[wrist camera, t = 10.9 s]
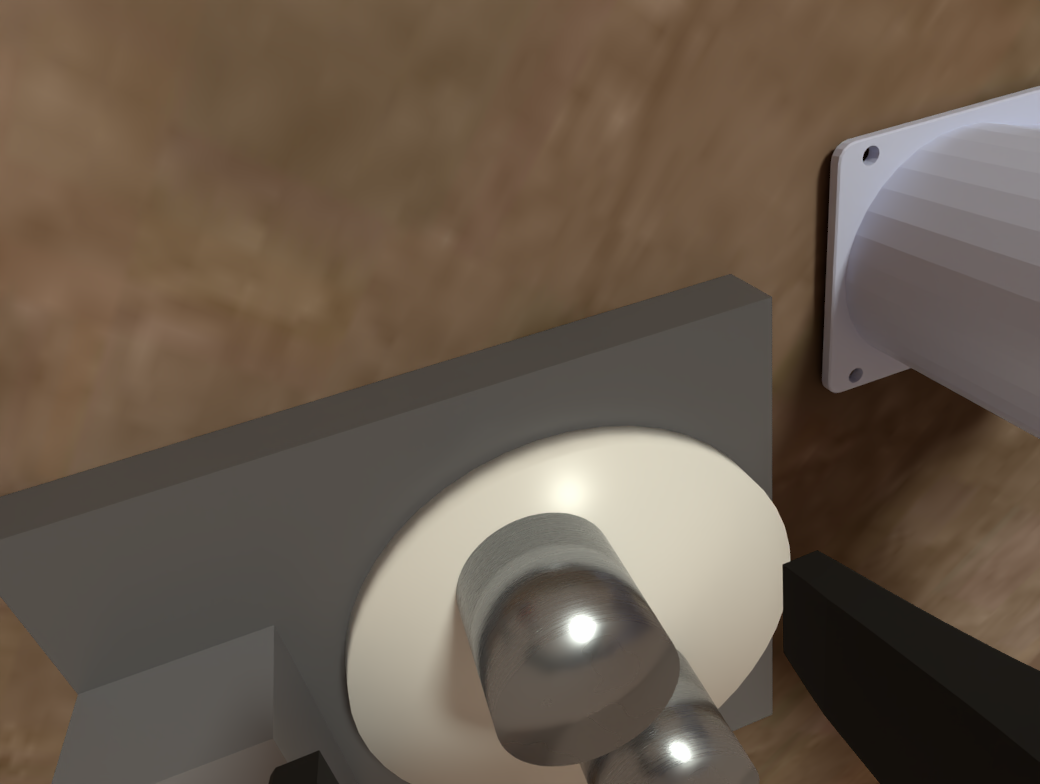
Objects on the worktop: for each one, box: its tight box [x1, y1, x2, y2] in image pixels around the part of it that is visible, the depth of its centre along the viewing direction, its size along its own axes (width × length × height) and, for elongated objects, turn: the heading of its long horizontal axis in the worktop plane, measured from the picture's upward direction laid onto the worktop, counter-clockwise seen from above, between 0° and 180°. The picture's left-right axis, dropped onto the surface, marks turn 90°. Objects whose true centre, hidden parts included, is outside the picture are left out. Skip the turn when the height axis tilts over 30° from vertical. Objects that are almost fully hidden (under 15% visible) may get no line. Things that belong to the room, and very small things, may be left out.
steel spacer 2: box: [579, 650, 759, 784], centre depth 21 cm, size 4×4×4 cm
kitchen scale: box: [0, 274, 790, 784], centre depth 21 cm, size 20×18×6 cm
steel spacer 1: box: [456, 513, 680, 767], centre depth 18 cm, size 4×4×4 cm
